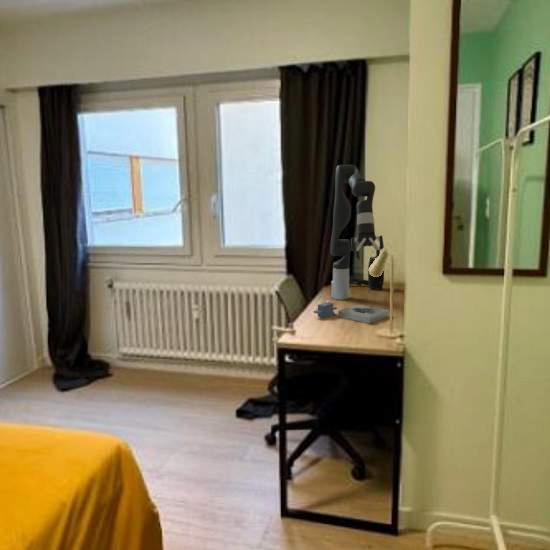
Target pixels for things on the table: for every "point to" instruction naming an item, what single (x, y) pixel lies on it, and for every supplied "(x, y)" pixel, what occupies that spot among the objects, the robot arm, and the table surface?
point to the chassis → (363, 313)
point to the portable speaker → (375, 278)
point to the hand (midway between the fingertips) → (368, 259)
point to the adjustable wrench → (358, 281)
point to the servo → (325, 309)
